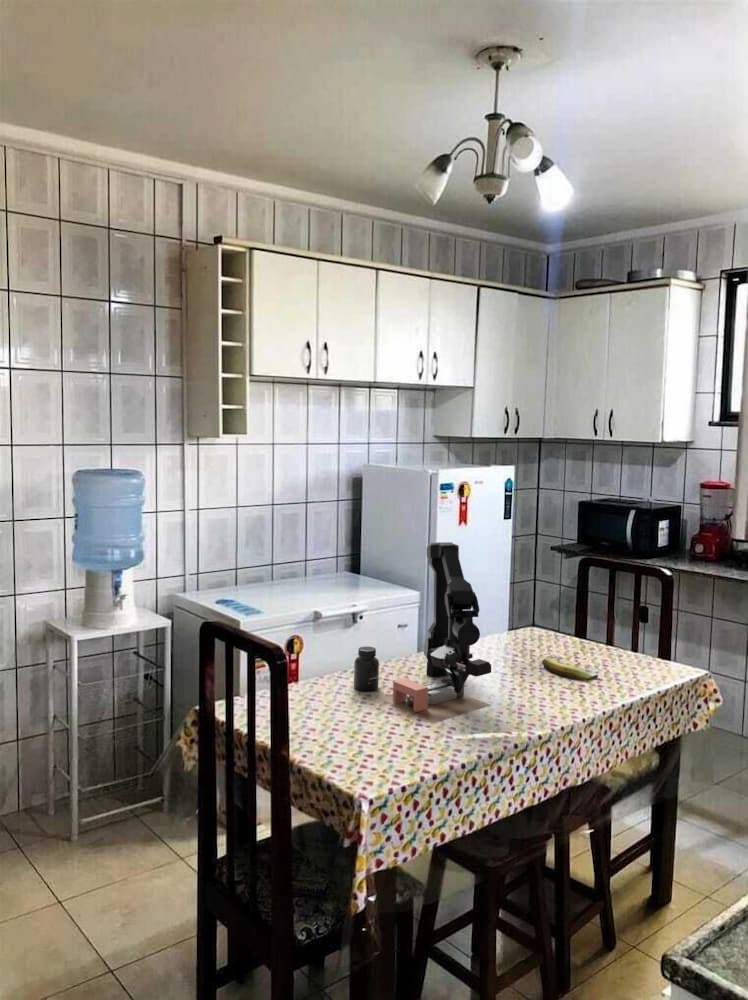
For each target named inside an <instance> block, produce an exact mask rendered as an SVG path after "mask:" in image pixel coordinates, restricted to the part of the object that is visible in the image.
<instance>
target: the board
mask: <svg viewBox="0 0 748 1000" xmlns="http://www.w3.org/2000/svg"><path fill="white" fill-rule="evenodd" d="M433 684H436V683H434V682H431V683H429V684H423V686H429V685H433ZM407 696H409V695H408V694H407ZM376 700H379V701H381V702H384V703H386V704H388V705H391V706H393V707H395V708H398V709H400V710H403V711H404V712H407V713H410V714H411V715H413V716H416V717H419V718H421V719H423V720H425V721H428V722H430V723H432V724H435V723H438V722H442V721H445V720H447V719H451V718H455V717H458V716H461V715H464V714H467V713H472V712H474V711H476V710H480V709H485V708H486V707H489V706H490V707H491V704H489V703H488V702H485V701H482V700H479V699H477V698H475V697H472V696H469V695H467V694H464V697H461V698H456V699H452V700H448V701H445V702H441V703H437V704H433V705H428V708H427V709H425V710H421V711H418V712H415V711H413V707H410V706H409V704H408V703H407V700H405V701H401V702H398V703H394V702H393V693H391V694H387V695H384V696H380V697H377V698H376Z"/></svg>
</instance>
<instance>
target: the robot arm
mask: <svg viewBox="0 0 748 1000" xmlns="http://www.w3.org/2000/svg"><path fill="white" fill-rule="evenodd" d="M459 548H460V547H459V544H455V543H453V541H451V542H450V541H449V542H448V541H447V542H445V541H444V542H443V541H442V542H439V541H438V542H435V541H434V542H433V541H432V542H431V543H430V545H427V547H426V557H427V559H428V564H429V566H430V568H431V569H432V571H433V622H432V624H431V625H430V627H429V628H428V631H427V637H426V639H425V641H424V644H423V655H424V656H425V658H426V660H427V662H426V676H428V677H429V678H430V677H431V678H445V677H447V676H449V679H451V681H452V684H453V687H454V690H455V692H456V693H460V691H461V689H462V687H463V685H464V686H465V684H466V681H467V679H468V678H469V676H472V677H480V676H481V677H482V676H483V675H487V674H491V673H492V664H491V663H490V662H489V661H486V660H484V659H481V658H478V659H474V660H471V659H472V658H473V657H474V656H473V654H474V653H470V651H471V650H470V649H471V647H470V646H473V645H475V644H476V643H478V641H479V639H480V637H481V632H480V628H479V627H478V626H477V625H476V624H475V623H474V621H473V620H474V619H473V618H479V613H480V605H479V601H478V597H477V595H476V592H475V591H474V589H473V587H472V584H471V583H470V582H468V581H467V580H466V579H465V576H464V572H463V569H462V566H461V562H460V555H459V554H460V552H459V551H460V550H459ZM471 609H472V610H471Z"/></svg>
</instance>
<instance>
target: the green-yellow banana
mask: <svg viewBox="0 0 748 1000" xmlns="http://www.w3.org/2000/svg"><path fill="white" fill-rule="evenodd" d="M546 654H547V653H546ZM546 654H544V655H546ZM542 655H543V654H540V656H542ZM553 655H554V656H555V654H553ZM556 656H557V655H556ZM556 656H555V658H557V657H556ZM553 659H554V658H553V657H551V658H545V659H544V660H541V662H542V665H543V669H544V670H545V669H546V670H545V671H546V672H549V673H550V674H551V673H552V674H553V675H556V676H557V675H558V676H560V677H563V678H568V679H571V680H580V681H582V680H583V681H585V680H586V681H587V680H597V679H598V677H599V675H598V674H595V675H590V674H589V673H588V672H587V671H585V670H583V669H582V668H579V667H577V666H572V665H568V664H564V663H560V662H557V661H555V660H553ZM561 687H562V688H561V689H571V690H573V688H569V687H565V686H561ZM574 690H576V691H578V689H576V688H574ZM580 691H583V690H582V689H580Z"/></svg>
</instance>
